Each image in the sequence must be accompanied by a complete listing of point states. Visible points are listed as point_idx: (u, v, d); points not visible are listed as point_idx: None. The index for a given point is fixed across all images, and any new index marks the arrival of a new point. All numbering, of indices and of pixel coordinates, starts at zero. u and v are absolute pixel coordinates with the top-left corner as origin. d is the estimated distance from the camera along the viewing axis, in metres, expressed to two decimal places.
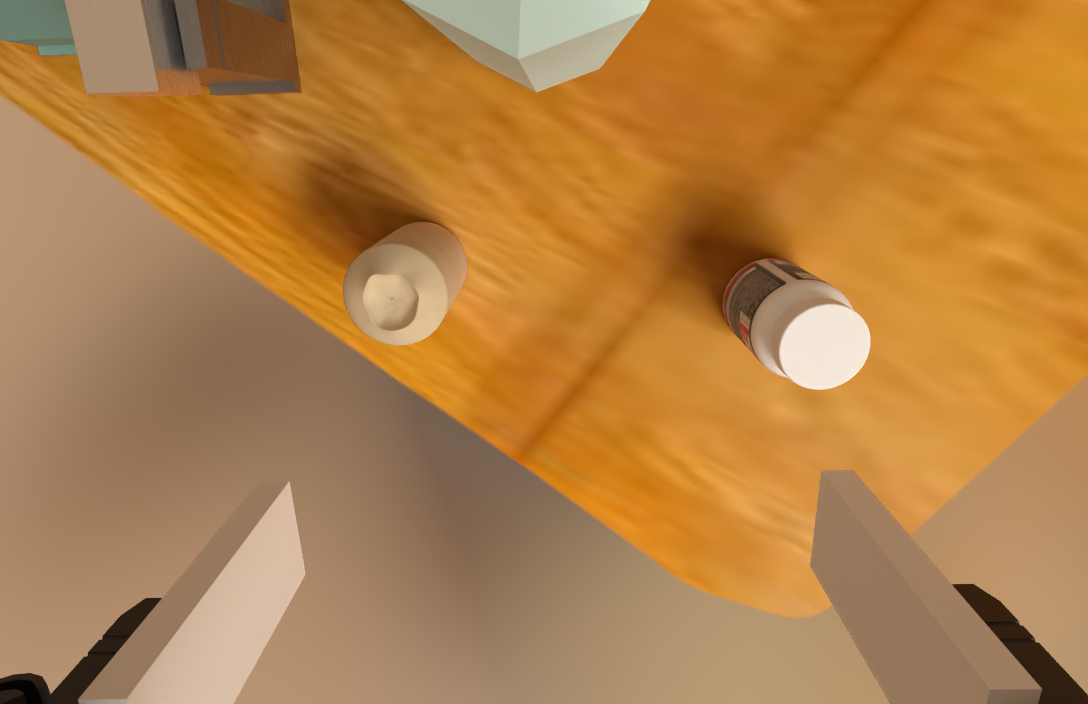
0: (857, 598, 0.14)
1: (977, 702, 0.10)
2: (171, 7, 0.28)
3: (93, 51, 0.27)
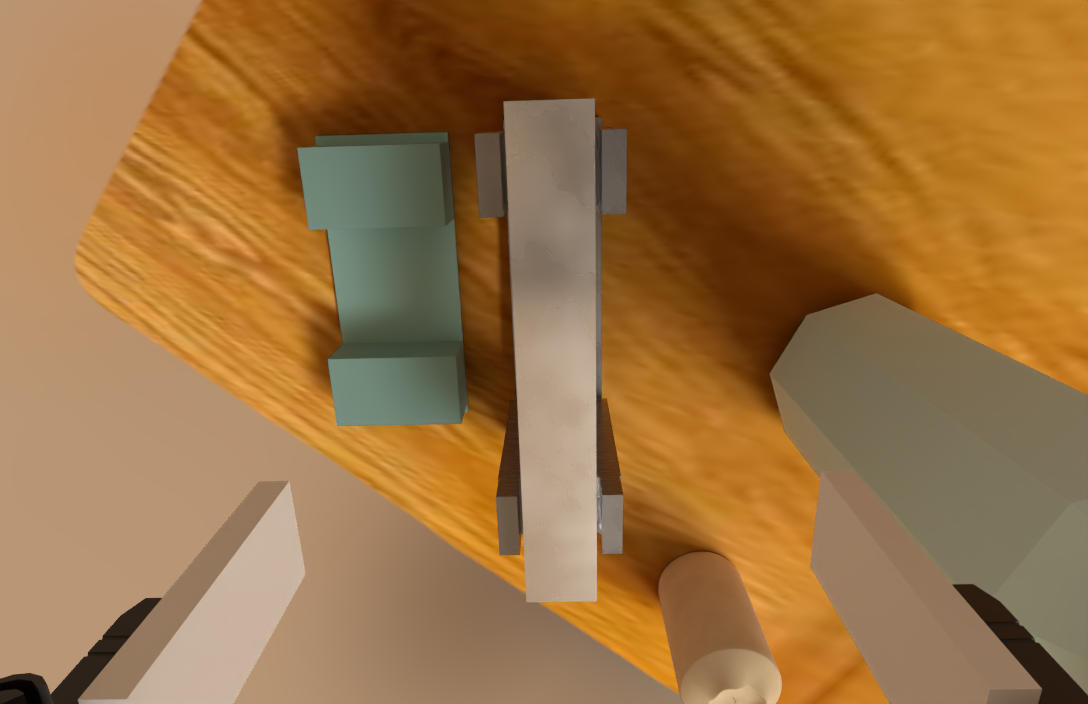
0: (857, 599, 0.14)
1: (977, 702, 0.10)
2: None
3: (541, 571, 0.28)
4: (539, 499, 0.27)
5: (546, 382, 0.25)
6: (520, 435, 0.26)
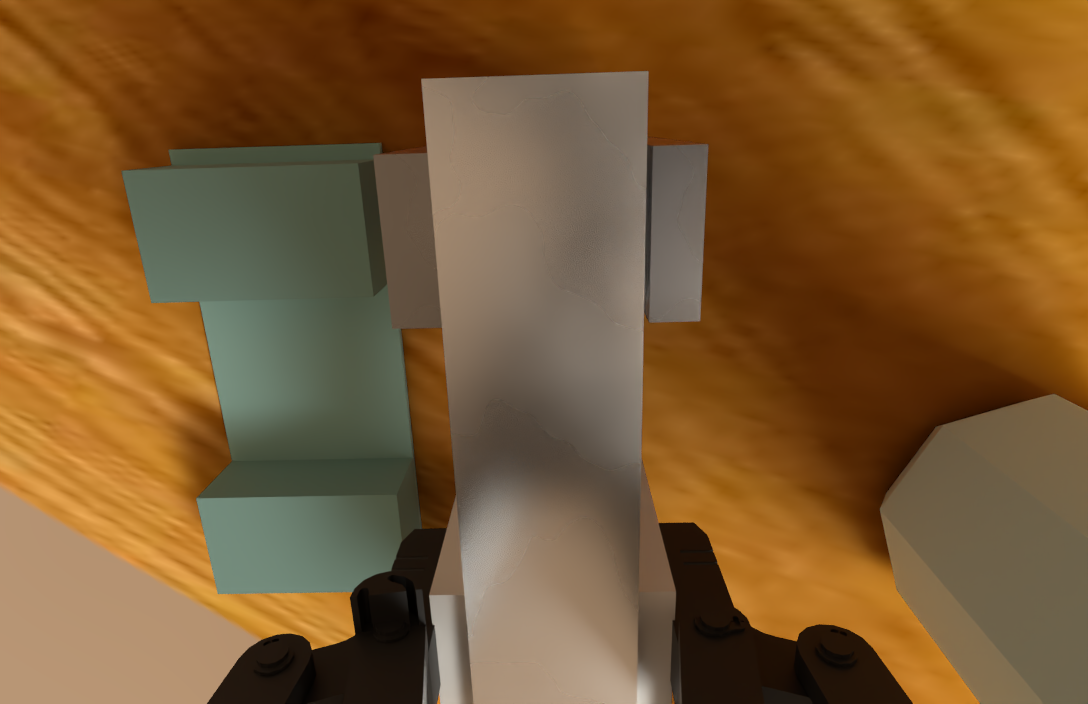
0: None
1: None
2: None
3: None
4: None
5: (533, 671, 0.12)
6: None
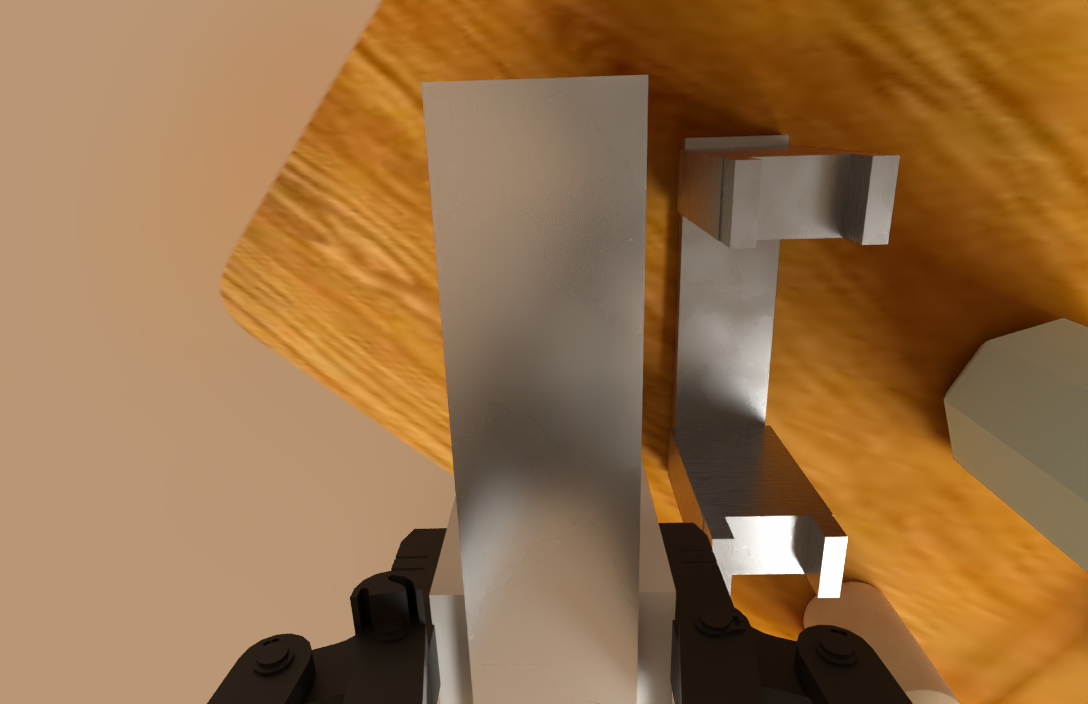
0: None
1: None
2: None
3: None
4: None
5: (533, 673, 0.12)
6: None
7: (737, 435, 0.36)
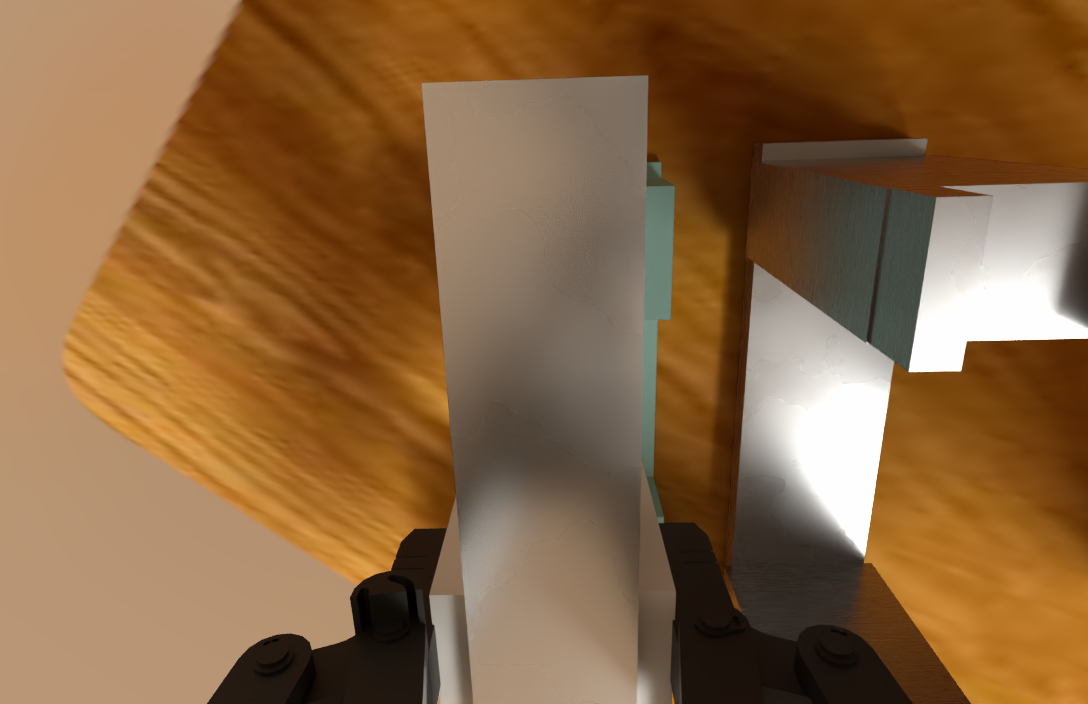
0: None
1: None
2: None
3: None
4: None
5: (533, 673, 0.12)
6: None
7: (827, 583, 0.24)
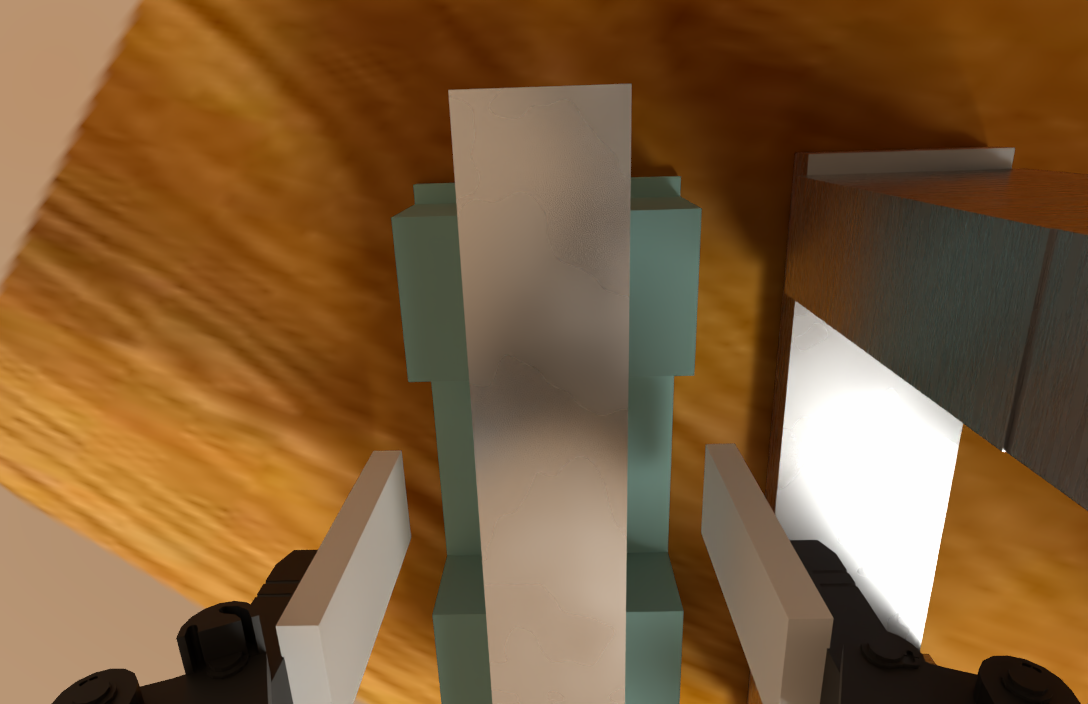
0: (725, 556, 0.16)
1: (783, 631, 0.11)
2: None
3: None
4: None
5: (537, 591, 0.14)
6: (493, 675, 0.15)
7: None
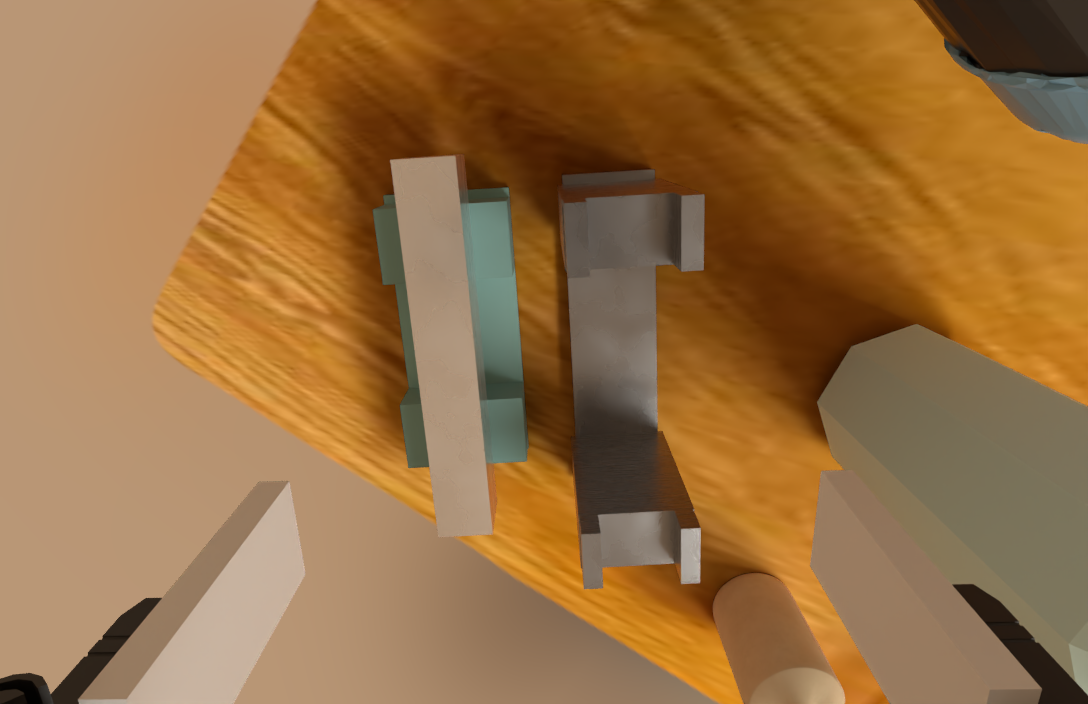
0: (857, 599, 0.14)
1: (977, 702, 0.10)
2: (490, 459, 0.38)
3: (447, 511, 0.36)
4: (441, 454, 0.35)
5: (438, 363, 0.33)
6: (422, 404, 0.34)
7: (630, 441, 0.40)
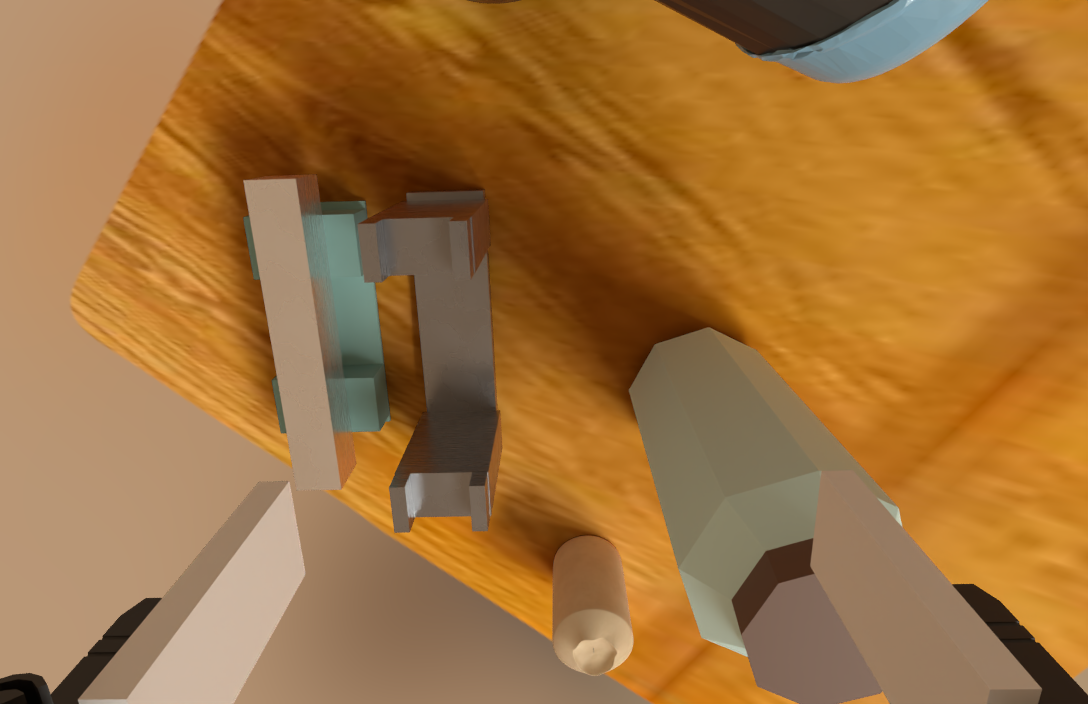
0: (856, 598, 0.14)
1: (977, 702, 0.10)
2: (345, 427, 0.45)
3: (303, 469, 0.44)
4: (295, 421, 0.42)
5: (290, 346, 0.41)
6: (278, 379, 0.41)
7: (469, 417, 0.47)
